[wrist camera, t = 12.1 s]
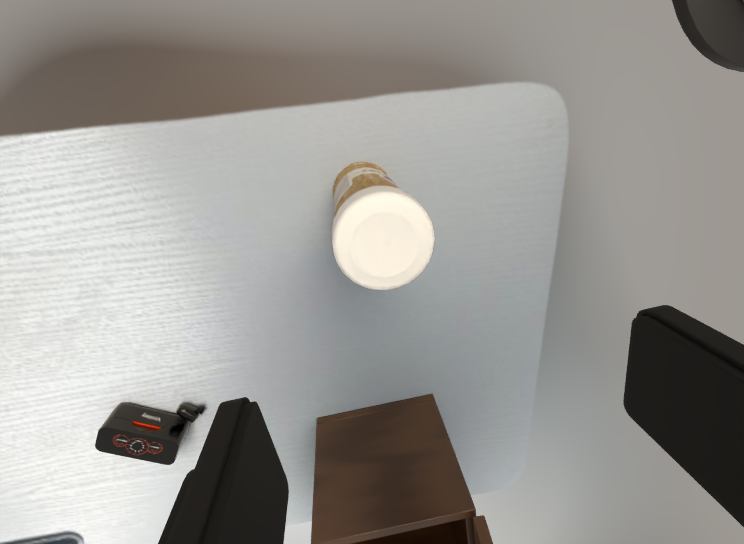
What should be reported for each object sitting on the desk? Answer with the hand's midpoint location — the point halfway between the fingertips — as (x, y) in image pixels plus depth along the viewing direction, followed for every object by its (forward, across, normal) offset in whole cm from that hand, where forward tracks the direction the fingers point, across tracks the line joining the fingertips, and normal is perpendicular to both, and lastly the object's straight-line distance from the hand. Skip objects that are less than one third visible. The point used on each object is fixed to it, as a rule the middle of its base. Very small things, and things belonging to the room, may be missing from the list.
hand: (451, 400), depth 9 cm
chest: (+22, +3, +25) cm, 33 cm away
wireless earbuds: (+22, +22, +15) cm, 34 cm away
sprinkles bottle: (+22, 0, -2) cm, 22 cm away
